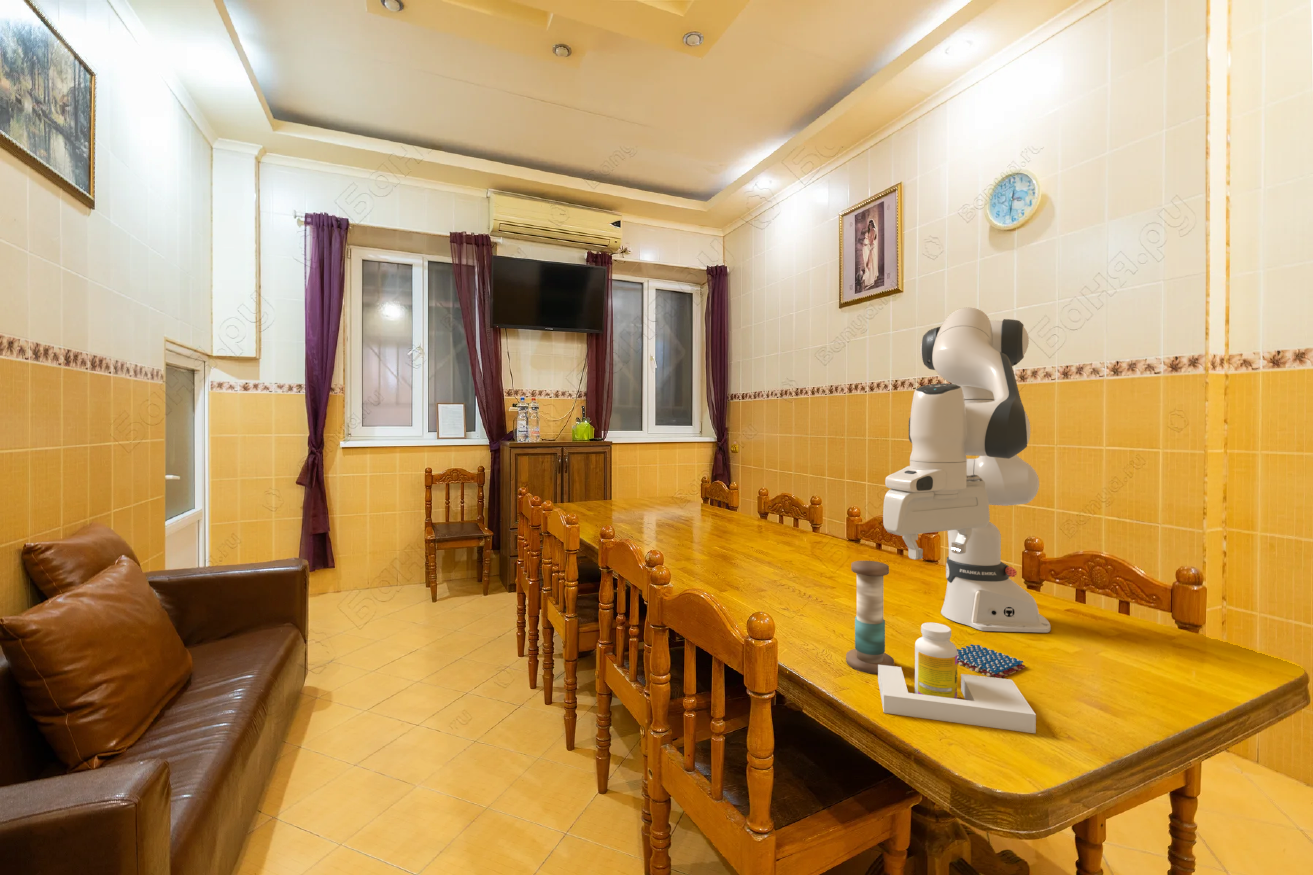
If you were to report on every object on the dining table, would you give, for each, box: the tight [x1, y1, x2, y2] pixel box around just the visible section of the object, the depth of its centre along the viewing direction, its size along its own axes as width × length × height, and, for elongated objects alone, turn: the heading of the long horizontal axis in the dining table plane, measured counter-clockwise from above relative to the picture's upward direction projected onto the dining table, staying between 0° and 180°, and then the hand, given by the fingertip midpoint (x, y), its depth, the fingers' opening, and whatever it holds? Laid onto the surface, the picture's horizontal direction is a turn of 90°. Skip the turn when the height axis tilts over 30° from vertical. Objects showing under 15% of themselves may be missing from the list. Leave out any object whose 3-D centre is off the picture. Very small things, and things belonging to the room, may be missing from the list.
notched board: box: [877, 665, 1037, 734], centre depth 96 cm, size 22×12×3 cm, turn 73°
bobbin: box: [845, 560, 895, 675], centre depth 111 cm, size 9×9×20 cm
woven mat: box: [957, 643, 1026, 678], centre depth 111 cm, size 10×11×2 cm
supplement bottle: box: [914, 622, 958, 699], centre depth 97 cm, size 7×7×13 cm
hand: (937, 555), depth 97 cm, fingers open, 8 cm apart
